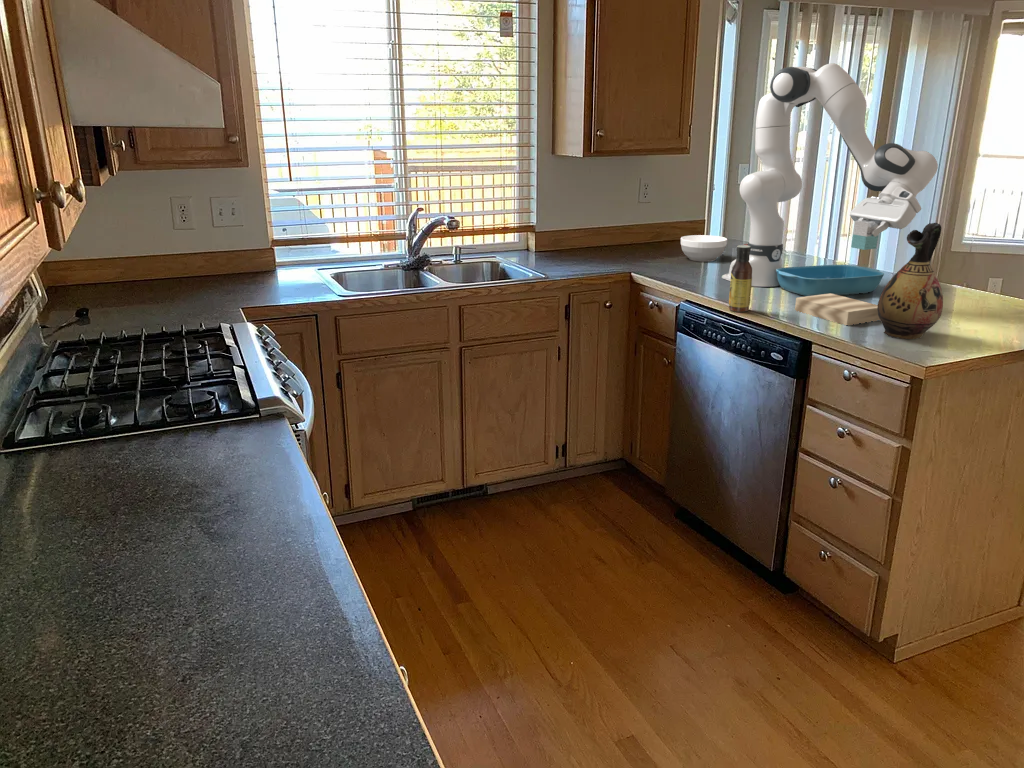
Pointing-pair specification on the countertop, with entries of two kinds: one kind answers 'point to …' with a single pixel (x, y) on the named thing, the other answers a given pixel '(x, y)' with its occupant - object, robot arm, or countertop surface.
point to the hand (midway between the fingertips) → (864, 233)
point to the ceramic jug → (913, 290)
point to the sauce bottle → (741, 281)
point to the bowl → (703, 247)
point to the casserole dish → (829, 279)
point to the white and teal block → (864, 235)
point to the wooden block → (837, 309)
